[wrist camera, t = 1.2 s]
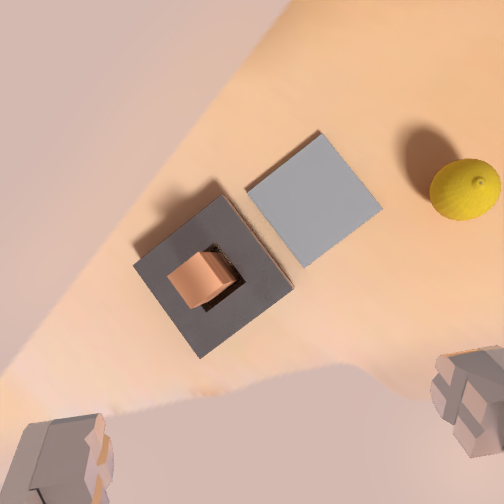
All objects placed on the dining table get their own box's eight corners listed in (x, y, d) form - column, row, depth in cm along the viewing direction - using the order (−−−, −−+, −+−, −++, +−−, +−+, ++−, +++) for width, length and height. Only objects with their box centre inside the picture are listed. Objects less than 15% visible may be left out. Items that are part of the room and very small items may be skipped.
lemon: (408, 192, 42) (431, 177, 35) (453, 158, 42) (487, 135, 34) (443, 234, 42) (474, 229, 34) (490, 200, 41) (532, 187, 33)
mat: (322, 135, 44) (322, 133, 43) (381, 209, 43) (382, 208, 42) (247, 194, 45) (246, 193, 44) (304, 268, 44) (304, 268, 43)
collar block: (227, 198, 45) (221, 194, 42) (294, 286, 44) (293, 289, 41) (144, 264, 46) (132, 265, 43) (207, 352, 45) (199, 359, 42)
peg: (220, 252, 45) (198, 251, 36) (240, 278, 45) (222, 284, 36) (195, 272, 46) (166, 276, 37) (214, 298, 45) (190, 309, 36)
